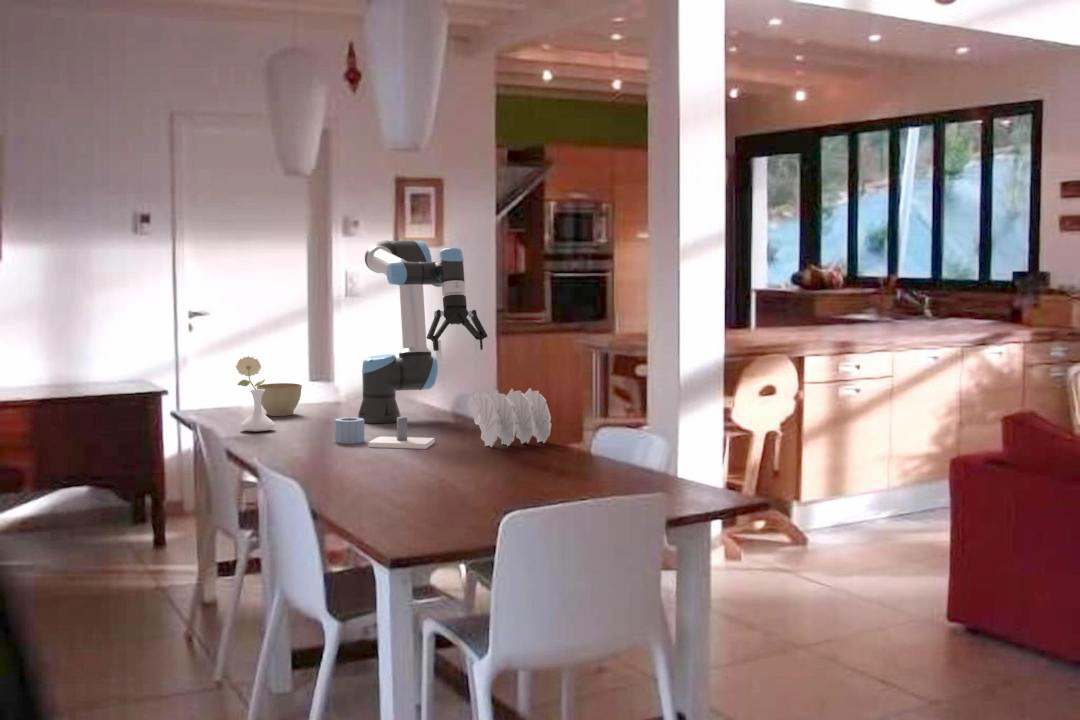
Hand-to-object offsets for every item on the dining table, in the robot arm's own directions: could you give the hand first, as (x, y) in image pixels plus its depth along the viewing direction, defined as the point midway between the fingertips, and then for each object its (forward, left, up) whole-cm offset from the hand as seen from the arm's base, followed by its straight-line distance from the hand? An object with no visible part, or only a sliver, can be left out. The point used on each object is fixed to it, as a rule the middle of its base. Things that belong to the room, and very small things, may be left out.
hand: (459, 360), depth 381 cm
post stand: (+16, -15, -25) cm, 33 cm away
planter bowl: (-44, -76, -25) cm, 91 cm away
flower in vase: (-4, -70, -25) cm, 74 cm away
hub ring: (+12, -33, -25) cm, 43 cm away
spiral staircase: (+10, +19, -25) cm, 34 cm away
